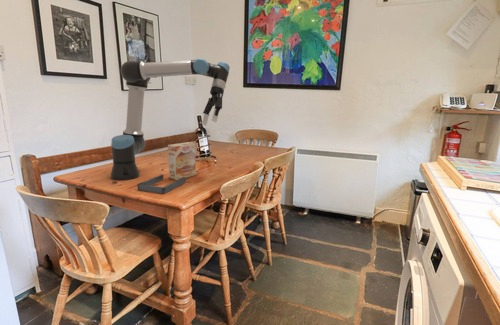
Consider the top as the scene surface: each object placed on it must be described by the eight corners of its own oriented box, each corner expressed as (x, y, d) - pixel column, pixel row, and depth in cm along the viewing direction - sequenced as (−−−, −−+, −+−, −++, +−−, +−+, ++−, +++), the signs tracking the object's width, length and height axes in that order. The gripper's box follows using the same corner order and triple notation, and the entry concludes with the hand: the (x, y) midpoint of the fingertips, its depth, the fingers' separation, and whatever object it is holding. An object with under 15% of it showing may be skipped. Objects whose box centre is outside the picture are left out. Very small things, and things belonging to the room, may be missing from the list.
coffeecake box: (176, 180, 160) (175, 146, 156) (168, 178, 165) (167, 144, 160) (196, 175, 172) (195, 143, 168) (188, 173, 176) (187, 141, 172)
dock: (137, 190, 143) (137, 184, 142) (161, 179, 162) (161, 174, 161) (163, 194, 138) (163, 188, 138) (185, 182, 157) (185, 177, 156)
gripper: (233, 85, 156) (224, 122, 152) (214, 96, 177) (205, 128, 173) (221, 80, 152) (212, 117, 148) (203, 91, 173) (194, 123, 169)
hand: (208, 123), depth 161 cm, fingers open, 13 cm apart
